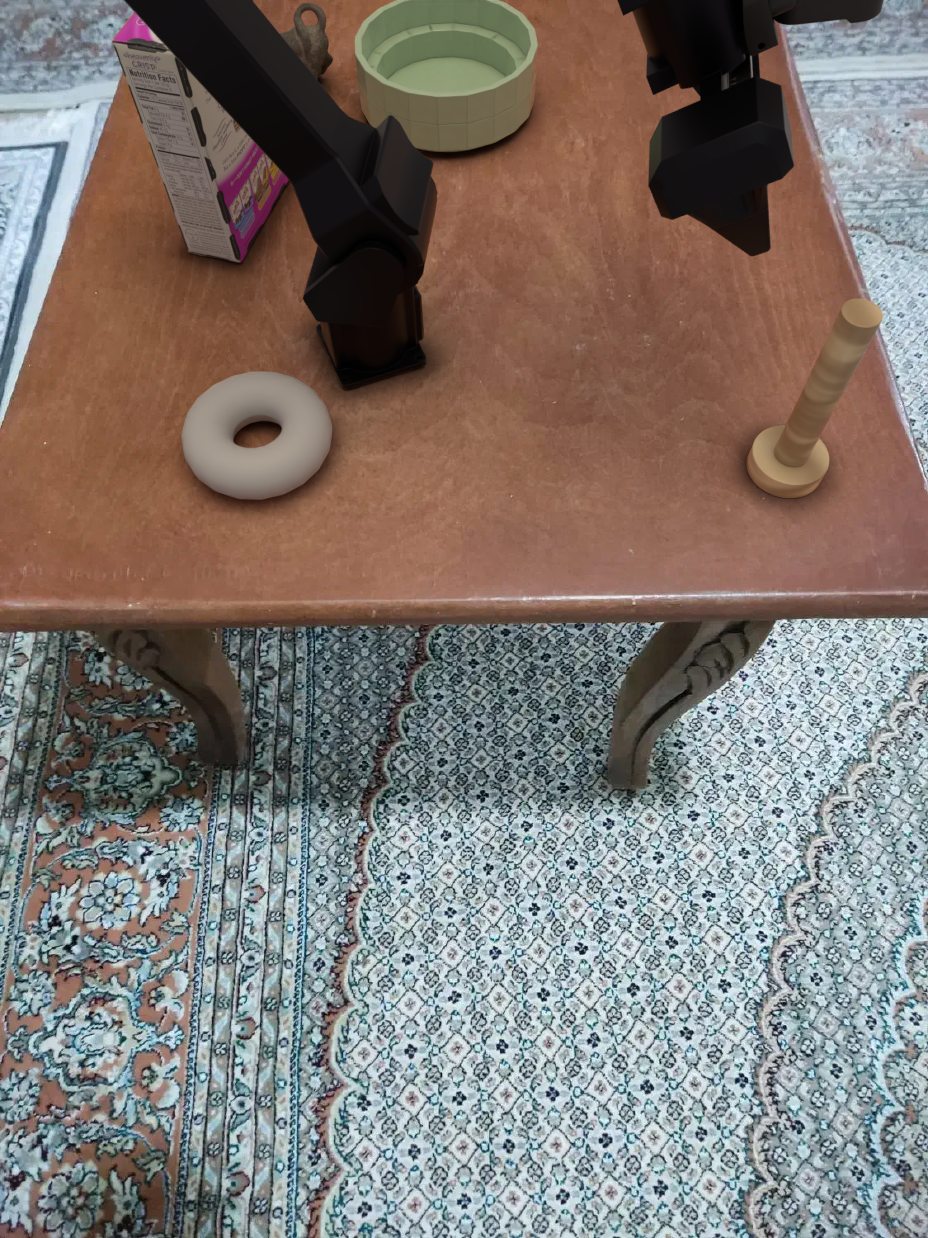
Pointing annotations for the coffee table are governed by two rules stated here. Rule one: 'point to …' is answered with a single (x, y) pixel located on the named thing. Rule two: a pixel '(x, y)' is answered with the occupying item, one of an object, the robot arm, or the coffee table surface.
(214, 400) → the donut
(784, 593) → the coffee table surface
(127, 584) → the coffee table surface
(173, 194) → the candy bar box
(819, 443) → the post
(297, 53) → the dog figurine
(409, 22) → the bowl
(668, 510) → the coffee table surface
